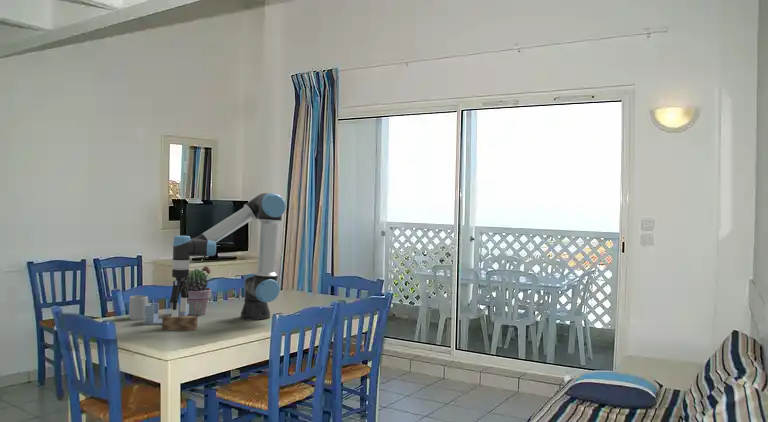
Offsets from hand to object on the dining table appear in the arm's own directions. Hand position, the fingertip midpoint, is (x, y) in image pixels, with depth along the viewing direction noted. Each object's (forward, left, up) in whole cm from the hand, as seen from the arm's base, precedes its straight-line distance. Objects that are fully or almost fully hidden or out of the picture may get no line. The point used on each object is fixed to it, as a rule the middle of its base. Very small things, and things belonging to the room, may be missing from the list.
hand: (179, 314), depth 291 cm
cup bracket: (+10, -13, -7) cm, 18 cm away
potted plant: (+3, -36, -7) cm, 37 cm away
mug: (+27, -25, -7) cm, 37 cm away
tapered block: (0, 0, -7) cm, 7 cm away
